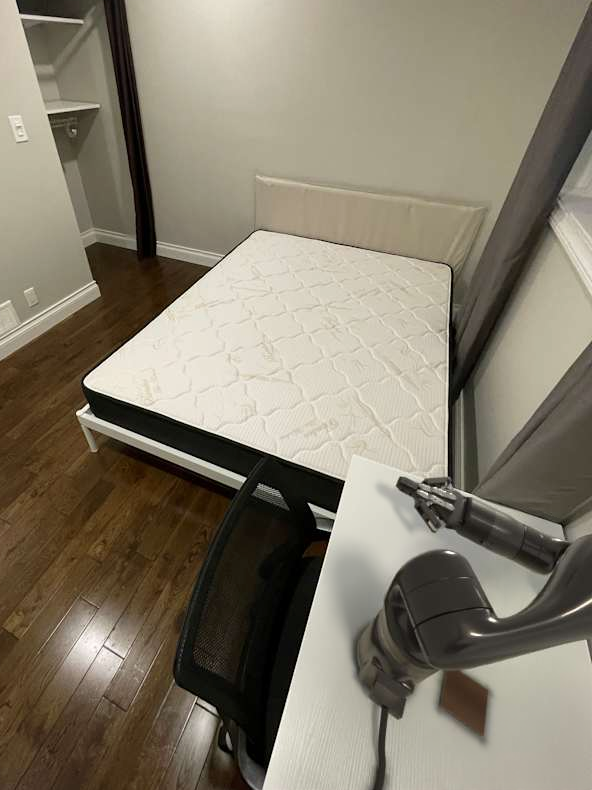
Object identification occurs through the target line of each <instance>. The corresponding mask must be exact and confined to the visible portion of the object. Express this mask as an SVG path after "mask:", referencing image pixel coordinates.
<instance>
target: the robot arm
mask: <svg viewBox="0 0 592 790" xmlns="http://www.w3.org/2000/svg"><path fill="white" fill-rule="evenodd" d="M452 481H453V480H452V478H451V477H450V476H440V477H427V478H426V477H425V478H424V479H423V480H422V481H421V482H417V481H414V480H412V479H410V478H408V477H406V476H399V477H398V479H397V480H396V484H395V488H397V490H398V491H400V492H401V493H403V494H405V495H406V496H409V497H411V498H412V499H413V500H414V505H413V508H414V509H415V510H416V512H417V514H418V515H419V517H421V519H422V520H423V522H424V523H425V525H426V527H428V529H429V530H430V532H431V533H433V534H436V533H438V531H439V530H441V529H447V530H453V531H455V532H456V534H458V535H459V536H461V537H463V538H464V539H466V540H469V541H470V542H472V543H474V544H476V545H478V546H480V547H482V548H483V549H485V550H488V551H489V552H491V553H493V554H495V555H498V556H499V557H503V558H505V559H507V560H509V561H511V562H513V563H515V564H517V565H519V566H522V567H523V568H524V569H527V570H529V571H530V572H531V573H534V574H537V575H539V576H548V575H550V576H549V578H548V579H547V581H546V582H545V584H544V585H543V587H542V588H541V589H540V590H539V592H538V593H537V594H536V596H535V597H534V598H533V599H532V600H531V601H530V602H529V603H528V604H527V605H526V606H525V607H524V608H523V609H521V610H519V611H518V612H516V613H515V614H512V615H510V616H507V617H499V616H498V615H497V613H496V612H495V610H494V607H493V605H492V603H491V602H490V600H489V598H488V596H487V594H486V591H485V590H484V588H483V586H482V585H481V582H480V581H479V578H478V577H477V574H476V573H475V571H474V569H473V567H472V565H471V564H470V562H469V560H468V559H467V558H466V557H465V556H464V555H462V554H460V553H459V552H457V551H454V550H451V549H446V548H445V549H444V548H438V549H436V548H435V549H430V550H426V551H423V552H421V553H418V554H417V555H415V556H413V557H411V558H409V559H408V560H407V561H406V562H404V563H403V564H402V565H401V567H400V568H399V569H398V570H397V571H396V573H395V574H394V576H393V578H392V580H391V581H390V584H389V586H388V588H387V590H386V592H385V593H384V596H383V603H382V605H383V606H382V607H381V608H380V610H379V611H378V612H377V614H375V617H374V618H373V619H372V621H371V622H370V623H369V625H368V626H367V627H366V629H365V630H363V632H362V633H361V635H360V636H359V639H358V642H357V646H356V658H357V663H358V667H359V672H358V678H359V679H360V680H362V682H364V683H365V684H367V685H368V686H370V687H371V689H370V692H369V696H368V698H369V699H370V700H371V701H372V702H373V703H374V704H376V705H377V706H379V707H380V708H381V709H380V718H379V727H378V739H377V754H378V756H377V757H378V766H377V773H376V777H375V782H374V787H373V790H383V787H384V782H385V777H386V771H387V769H386V768H387V760H386V758H387V757H386V740H387V738H386V737H387V729H388V718H389V715H391V717H393V718H395V719H396V720H397V721H399V720H401V719H402V718H403V715H404V712H405V707H406V703H407V698H408V697H409V696H411V695H412V694H414V692H415V691H414V690H415V688H416V686H418V685H419V684H421V683H422V682H424V681H425V680H427V679H428V678H430V677H431V676H433V675H434V674H436V673H438V672H440V671H443V672H444V671H445V672H446V671H458V670H459V671H465V670H470V669H475V668H480V667H483V666H488V665H493V664H495V663H500V662H503V661H506V660H510V659H515V658H518V657H522V656H525V655H530V654H532V653H533V654H534V653H536V652H540V651H544V650H549V649H552V648H555V647H559V646H563V645H568V644H571V643H574V642H576V643H577V642H581V641H585V640H591V639H592V533H589V534H585V535H582V536H580V537H579V538H577V539H576V540H574V541H571V540H566V539H564V538H560V537H555V536H552V535H549V534H545V533H544V532H541V531H539V530H538V529H535V528H533V527H532V526H529V525H527V524H525V523H523V522H521V521H519V520H518V519H516V518H514V517H513V516H511V515H509V514H507V513H505V512H503V511H501V510H499V509H497V508H495V507H493V506H491V505H489V504H486V503H484V502H483V501H480V500H479V499H477V498H474V497H472V496H466V495H464V494H462V493H461V492H460V491H459V490H458V489H454V487H453V485H452Z"/></svg>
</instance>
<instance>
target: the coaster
mask: <svg viewBox="0 0 592 790" xmlns="http://www.w3.org/2000/svg"><path fill="white" fill-rule="evenodd" d="M444 673H445V674H444V679H443V685H442V690H441V696H440V703H439V707H440V708H441V709H442V710H444V711H445V712H446V713H448V714H449V715H451V716H452V717H453V718H455V719H456V720H458V721H459V722H460V723H461V724H463V725H464V726H466V727H467V728H468V729H470V730H471V731H473V732H474V733H476V734H477V735H478V736H480V737H484V735H485V725H486V717H487V706H488V697H489V690H488V689H487V688H486V687H484V686H483V685H481V684H480V683H478V682H477V681H476V680H474V679H473V678H471V677H469V676H468V675H466V674H465V673H463V672H462V671H461V670H458V671H445V672H444Z"/></svg>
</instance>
